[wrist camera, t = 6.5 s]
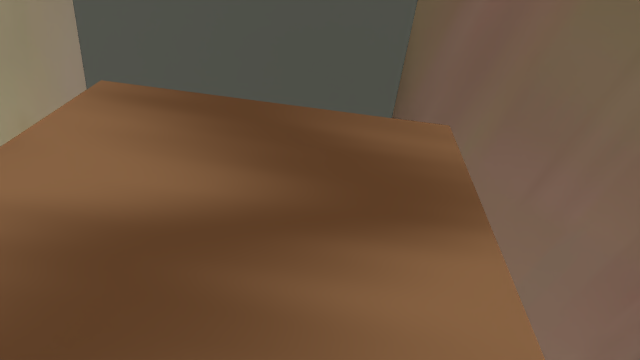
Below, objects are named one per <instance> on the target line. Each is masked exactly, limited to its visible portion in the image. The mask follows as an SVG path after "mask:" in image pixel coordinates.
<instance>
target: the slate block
mask: <svg viewBox="0 0 640 360" xmlns="http://www.w3.org/2000/svg"><path fill="white" fill-rule="evenodd" d="M417 1H418V0H73V5H74V11H75V17H76V24H77V30H78V36H79V43H80V49H81V55H82V62H83V68H84V74H85V80H86V87H87V89H89V88H90V87H92V86H93V85H95V84H96V83H98V82H99V81H101V80H103V81H111V82H118V83H126V84H134V85H141V86H149V87H157V88H164V89H172V90H180V91H187V92H195V93H203V94H210V95H218V96H226V97H233V98H241V99H249V100H256V101H264V102H272V103H279V104H287V105H294V106H302V107H310V108H317V109H325V110H333V111H340V112H348V113H356V114H363V115H371V116H379V117H386V118H392V115H393V110H394V106H395V101H396V96H397V92H398V87H399V83H400V78H401V74H402V69H403V65H404V60H405V55H406V51H407V46H408V42H409V37H410V33H411V28H412V23H413V19H414V14H415V10H416V5H417Z"/></svg>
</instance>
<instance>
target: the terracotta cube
mask: <svg viewBox="0 0 640 360" xmlns="http://www.w3.org/2000/svg"><path fill="white" fill-rule="evenodd" d="M0 360H545V359H544V356H543V354H542V351H541V349H540V346H539V344H538V341H537V339H536V336H535V334H534V332H533V329H532V327H531V324H530V322H529V319H528V317H527V314H526V312H525V310H524V307H523V305H522V302H521V300H520V297H519V295H518V292H517V290H516V288H515V285H514V283H513V280H512V278H511V275H510V273H509V270H508V268H507V266H506V263H505V261H504V258H503V256H502V253H501V251H500V248H499V246H498V243H497V241H496V239H495V236H494V234H493V231H492V229H491V226H490V224H489V221H488V219H487V217H486V214H485V212H484V209H483V207H482V204H481V202H480V199H479V197H478V195H477V192H476V190H475V187H474V185H473V182H472V180H471V177H470V175H469V172H468V170H467V168H466V165H465V163H464V160H463V158H462V155H461V153H460V150H459V148H458V146H457V143H456V141H455V138H454V136H453V133H452V131H451V128H450V126H448V125H440V124H432V123H425V122H417V121H409V120H402V119H394V118H386V117H379V116H371V115H363V114H356V113H348V112H340V111H333V110H325V109H317V108H310V107H302V106H294V105H287V104H279V103H272V102H264V101H256V100H249V99H241V98H233V97H226V96H218V95H210V94H203V93H195V92H187V91H180V90H172V89H164V88H157V87H149V86H141V85H134V84H126V83H118V82H111V81H103V80H101V81H99V82H98V83H96V84H95V85H93V86H92V87H90V88H89V89H87V90H86V91H84V92H83V93H81V94H80V95H78V96H76V97H75V98H73V99H72V100H70V101H69V102H67V103H66V104H64V105H63V106H61V107H60V108H58V109H57V110H55V111H54V112H52V113H51V114H49V115H48V116H46V117H45V118H43V119H42V120H40V121H39V122H37V123H36V124H34V125H33V126H31V127H30V128H28V129H27V130H25V131H24V132H22V133H21V134H19V135H18V136H16V137H14V138H13V139H11V140H10V141H8V142H7V143H5V144H4V145H2V146H1V147H0Z"/></svg>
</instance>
